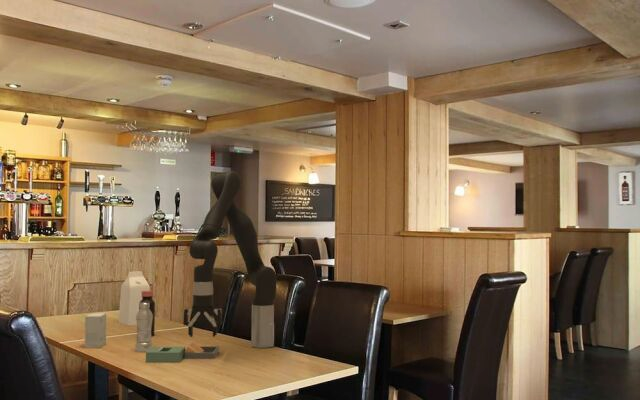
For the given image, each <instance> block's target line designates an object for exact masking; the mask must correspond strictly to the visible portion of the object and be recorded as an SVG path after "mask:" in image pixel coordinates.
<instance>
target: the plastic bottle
mask: <svg viewBox="0 0 640 400" xmlns="http://www.w3.org/2000/svg"><path fill="white" fill-rule="evenodd" d="M149 307H150V306H149V302H141V303H140V310H139V311H138V313H137V315H136V321H137V325H136V333H137V334H136V342H135V352H137V353H146V352H147V351H148V350H150V349H151V348H152V347H154V346H153V339H152V336H151V326H152V318H153V315H152V312H151V311H150V310H149Z"/></svg>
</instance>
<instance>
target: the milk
mask: <svg viewBox="0 0 640 400" xmlns="http://www.w3.org/2000/svg"><path fill="white" fill-rule="evenodd" d="M150 289H151V287H150V284H149V283H148V281H147V279H146V278H145V276H144V274H143V271H142V270H138V271H135V270H134V271H129V272H128V275H127V277H126V279H125V280H124V282H122V284H121V287H120V296H119V297H120V299H119V309H118V310H119V311H118V322H119V323H118V324H121V323H122V324H121V325H124V324H125V326H128V325H130V326H137V321H136V315H137V313H138V311H139V302H140V301H141V300H142V291H151V290H150Z"/></svg>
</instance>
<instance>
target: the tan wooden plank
mask: <svg viewBox="0 0 640 400" xmlns="http://www.w3.org/2000/svg"><path fill="white" fill-rule="evenodd" d="M203 351H204V350H203V349H202V348H201V347H199V345H198V344H196V342H194V341H192V342H191V343H190V344H189V345H188V346H187V348H185V352H187V353H204V352H203Z"/></svg>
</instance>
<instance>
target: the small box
mask: <svg viewBox="0 0 640 400" xmlns="http://www.w3.org/2000/svg"><path fill="white" fill-rule="evenodd" d="M106 344H107V312H106V313H105V312H104V313H103V312H102V313H101V312H96V313H95V312H94V313H93V312H92V313H89V314H87V315H85V316H84V348H85V349H101V348H102V347H103V346H105V345H106Z"/></svg>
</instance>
